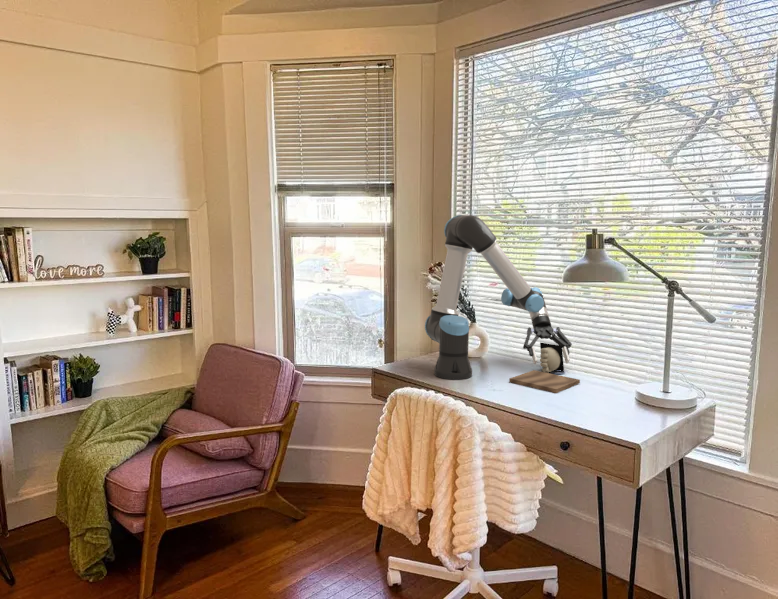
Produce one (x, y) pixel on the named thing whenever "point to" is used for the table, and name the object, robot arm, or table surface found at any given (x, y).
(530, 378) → the walnut board
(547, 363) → the decorative object
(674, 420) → the table surface
